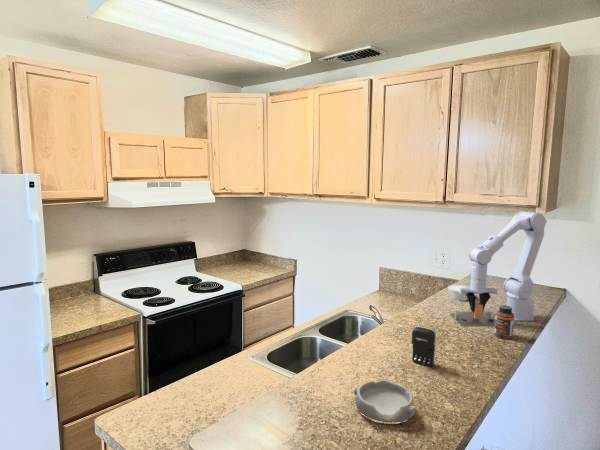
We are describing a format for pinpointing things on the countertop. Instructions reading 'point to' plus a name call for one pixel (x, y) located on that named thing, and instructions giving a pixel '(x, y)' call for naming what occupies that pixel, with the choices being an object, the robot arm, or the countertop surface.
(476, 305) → the block
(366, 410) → the dish
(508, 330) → the supplement bottle
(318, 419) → the countertop surface
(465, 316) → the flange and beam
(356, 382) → the countertop surface
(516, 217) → the robot arm
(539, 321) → the countertop surface
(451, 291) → the ramekin
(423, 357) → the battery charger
